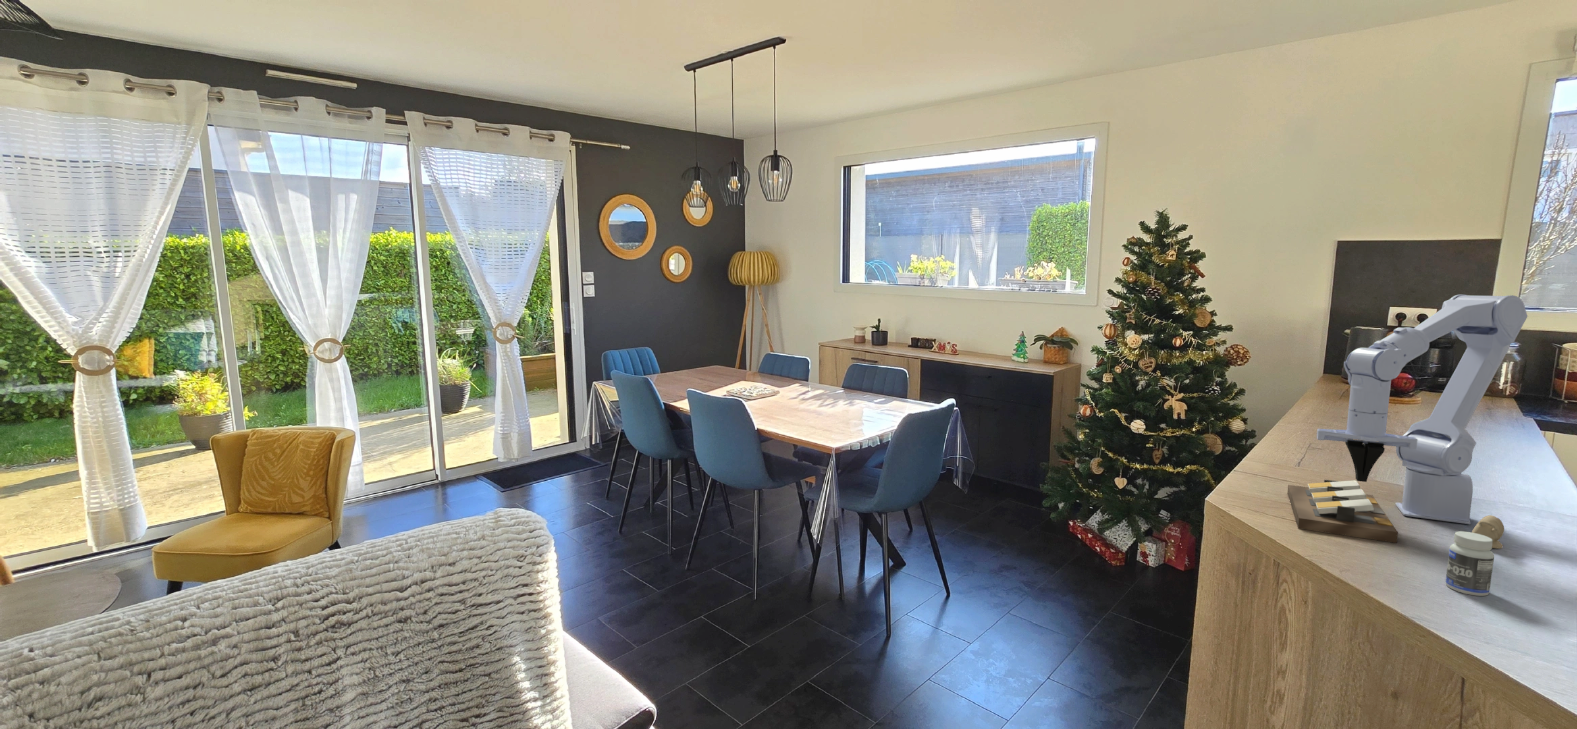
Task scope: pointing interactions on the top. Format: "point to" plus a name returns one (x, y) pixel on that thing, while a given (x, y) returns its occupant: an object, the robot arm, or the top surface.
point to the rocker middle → (1327, 496)
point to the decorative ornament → (1490, 529)
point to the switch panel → (1340, 516)
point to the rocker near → (1344, 505)
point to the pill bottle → (1470, 564)
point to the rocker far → (1342, 484)
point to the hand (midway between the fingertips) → (1361, 480)
